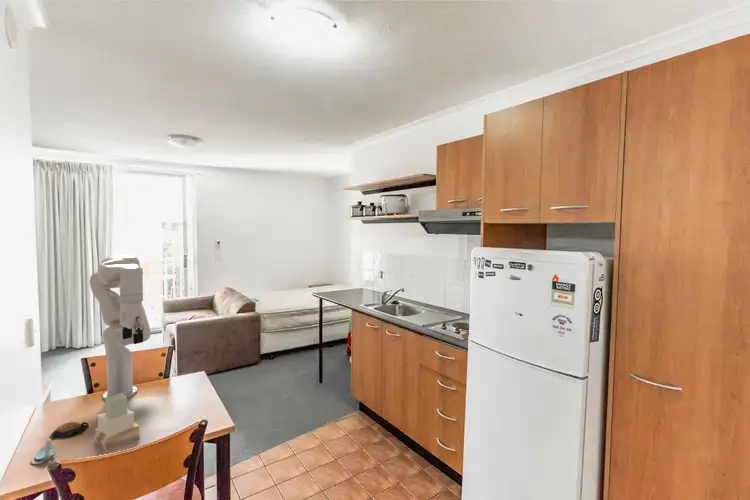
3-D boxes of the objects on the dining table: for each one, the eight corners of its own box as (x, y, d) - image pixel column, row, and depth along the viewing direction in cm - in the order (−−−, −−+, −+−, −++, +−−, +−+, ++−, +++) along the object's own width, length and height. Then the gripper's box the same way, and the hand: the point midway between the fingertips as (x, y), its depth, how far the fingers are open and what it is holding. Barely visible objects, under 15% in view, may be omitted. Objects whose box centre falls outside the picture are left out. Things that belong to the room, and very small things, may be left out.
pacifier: (30, 469, 113) (56, 460, 117) (28, 450, 113) (54, 441, 117) (30, 457, 119) (55, 449, 123) (29, 439, 118) (53, 432, 122)
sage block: (105, 414, 127) (104, 397, 127) (121, 408, 131) (121, 392, 131) (110, 419, 124) (110, 402, 124) (127, 413, 128) (127, 396, 128)
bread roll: (45, 443, 127) (44, 433, 127) (56, 430, 135) (56, 420, 135) (82, 437, 131) (81, 427, 130) (91, 425, 139) (90, 415, 138)
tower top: (97, 429, 127) (97, 415, 127) (123, 419, 134) (123, 405, 133) (108, 436, 123) (107, 422, 122) (134, 425, 129) (133, 412, 129)
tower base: (95, 442, 127) (94, 428, 127) (127, 429, 135) (127, 416, 135) (106, 453, 122) (106, 438, 121) (139, 439, 130) (139, 425, 129)
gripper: (111, 296, 144) (112, 338, 145) (130, 302, 134) (131, 347, 136) (132, 293, 150) (133, 334, 151) (152, 299, 141) (153, 342, 142)
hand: (132, 340), depth 143 cm, fingers open, 9 cm apart
